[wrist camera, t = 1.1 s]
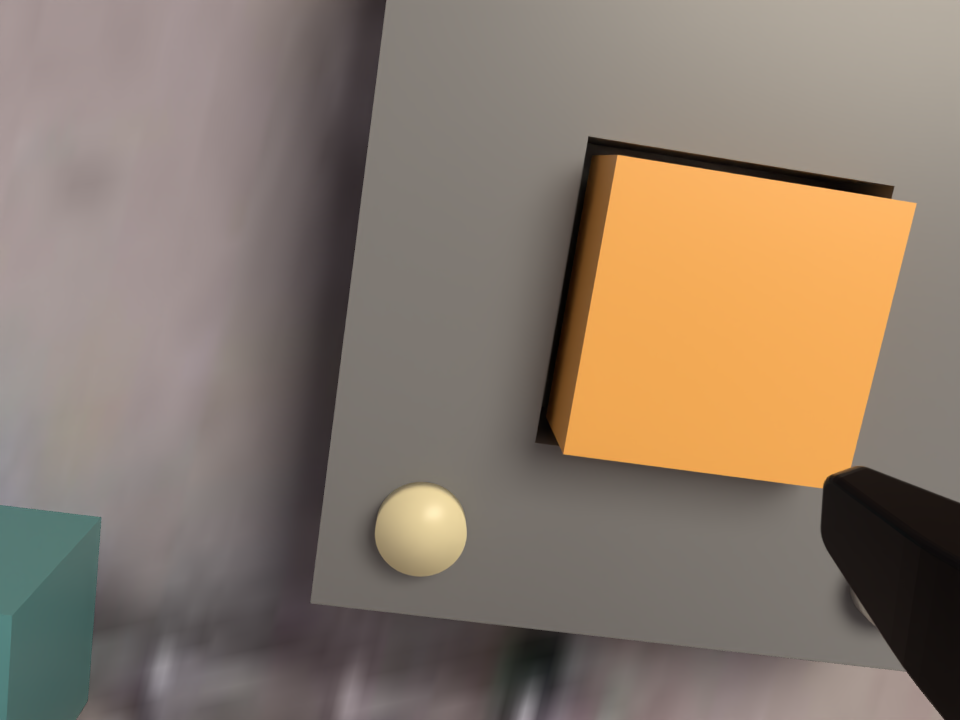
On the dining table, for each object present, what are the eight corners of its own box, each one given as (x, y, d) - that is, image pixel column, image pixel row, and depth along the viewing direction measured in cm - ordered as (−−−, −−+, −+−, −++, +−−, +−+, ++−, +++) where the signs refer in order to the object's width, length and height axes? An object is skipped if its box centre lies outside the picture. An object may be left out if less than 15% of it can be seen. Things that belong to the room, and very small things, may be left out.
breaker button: (852, 196, 19) (917, 202, 16) (792, 450, 20) (844, 491, 17) (592, 155, 18) (617, 154, 16) (545, 416, 19) (563, 454, 17)
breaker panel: (1015, 32, 21) (1172, -1, 17) (869, 592, 24) (969, 690, 19) (408, -78, 20) (403, -146, 15) (330, 526, 23) (306, 615, 18)
